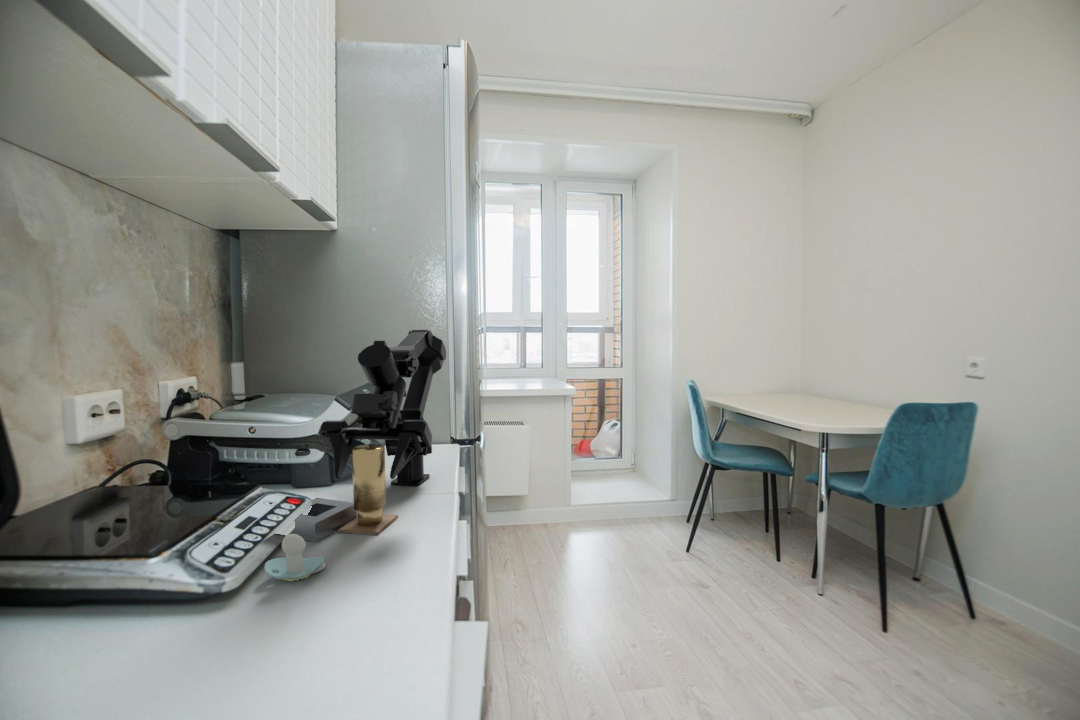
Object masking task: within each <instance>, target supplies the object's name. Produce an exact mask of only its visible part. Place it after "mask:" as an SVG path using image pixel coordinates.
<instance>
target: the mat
mask: <svg viewBox="0 0 1080 720" xmlns="http://www.w3.org/2000/svg"><path fill="white" fill-rule="evenodd" d="M398 518H399V515H398V514H389V513H383V521H382V522H381V523H380V524H377V525H374V526H367V527H365V526H360V525H358V515H357V518H355V519H353V520H351V521H349V522H348V523H347V524H345V525H344V526H343V527H341V528H340V529H339V530H338V533H342V534H343V533H344V534H347V533H348V534H361V535H362V534H363V535H377V536H378V535H380V534H381V533H382V532H383V531H384V530H386V528H388V527H389V526H390V525H391V524H392V523H393V522H394V521H396V520H397V519H398Z"/></svg>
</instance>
